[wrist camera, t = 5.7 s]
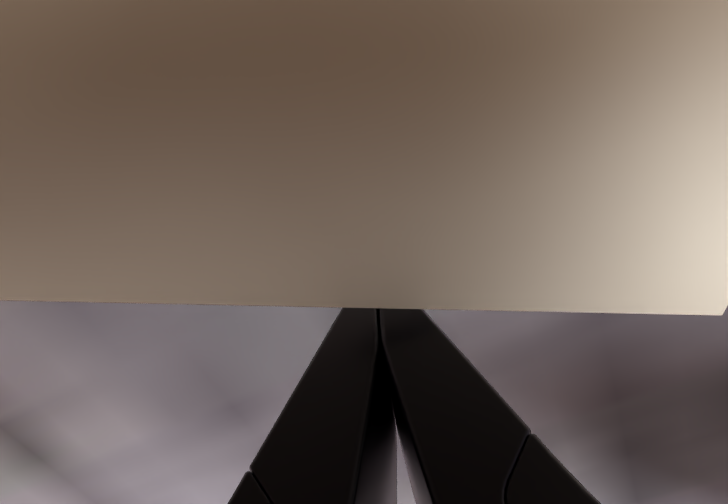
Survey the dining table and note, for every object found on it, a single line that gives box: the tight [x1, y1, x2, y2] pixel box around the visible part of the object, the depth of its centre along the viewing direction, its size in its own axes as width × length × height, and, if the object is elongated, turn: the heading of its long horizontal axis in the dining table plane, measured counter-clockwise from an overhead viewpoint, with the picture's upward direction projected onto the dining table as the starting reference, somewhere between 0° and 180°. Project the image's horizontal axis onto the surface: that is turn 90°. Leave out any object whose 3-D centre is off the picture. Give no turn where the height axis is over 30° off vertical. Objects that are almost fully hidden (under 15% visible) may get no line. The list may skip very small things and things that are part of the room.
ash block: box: [0, 0, 728, 315], centre depth 7 cm, size 6×10×5 cm, turn 87°
